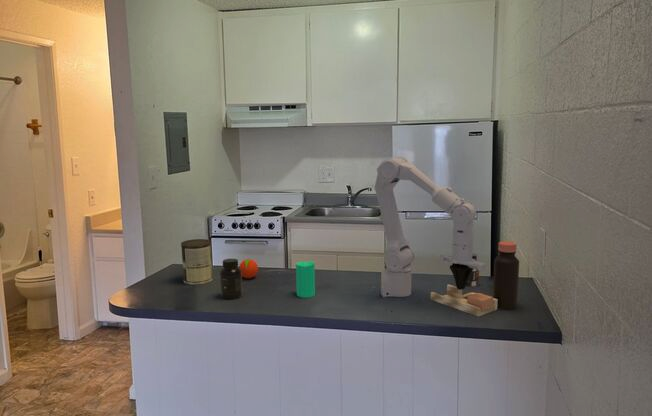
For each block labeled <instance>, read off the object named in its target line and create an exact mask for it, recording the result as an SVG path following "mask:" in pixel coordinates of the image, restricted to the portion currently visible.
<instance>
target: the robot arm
mask: <svg viewBox="0 0 652 416" xmlns="http://www.w3.org/2000/svg"><path fill="white" fill-rule="evenodd" d="M376 172H377V176H376V179H375V185H374V190H375V195H376V197H377V202H378V206H379V212H380V215H381V216H380V217H381V220H382V223H383V227H384V231H385V237H386V241H387V242H386V245H385V248H384V250H385V258H384V263H385V266H386V267H387V268H385V269H381V272H380V277H381V280H380V282H381V283H380V284H381V285H380V294H381V296H382V298H387V297H394V298H395V297H396V298H397V297H398V298H403V297H409V296H411V295H412V263H413V262H414V261H415V252H414V250H413V249H412V247H410V246H411V245H410V244H409V241H408V240H407V239H406V238H405V235H404V232H403V228H402V223H401V219H400V214H399V210H398V205H397V202H396V197H395V194H394V188H395V187H396V185H397V184H398V183H399V181H401V180H404V181H410V182H412V183H414V184H415V185H416V186H417V187H419V188H421V189H422V190H423V191H425V192H426V193H428V194H429V195H430V196H431V200H432V202H433V203H434V204H435V205H436V206H437V207H439V208H440V209H441V210H443V211H444V212H445V213H446V214H448V215H450V218H451V221H452V222H453V229H452V247H451V248H452V251H451V253H440V261H442V262H448V263H451V264H450V265H449V269H450V271H451V273H452V275H453V277H454V281H455V287H457V289H459V290H462V291H463V290H464V289H465V288H466V286H465V285H466V282H467V280H468V277H469V275H470V273H471V272H472V270H473V269H477V270H478V271H479V272H482V271H485V269H486V266H485V265H486V263H485V262H481V261H479V260H475V259H472V253H473V249H474V248H473V246H474V219H475V218H476V216H477V208H476V207H475V205H474V204H473V203H472V202H470V201H466V199H465V198H463V197H462V198H461V197H460V196H459V195H457V193H455V192H453V189H452V187H450V186H448V187H446V186H444V185H443V186H439V185H437V184H436V183H435V182H434V181H433V180H432V179H430V178H429V177H428V176H427V175H426V174H424V173H423V171H421V170H420V169H418V168H417V166H415V165H414V164H413V163H412V162H411V161H408V160H407V159H406V158H404V157H401V156H400V157H395V158H387V159H383V161H381V163H380V164H379V165H378V167H377V168H376Z"/></svg>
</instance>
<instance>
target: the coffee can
mask: <svg viewBox="0 0 652 416" xmlns="http://www.w3.org/2000/svg"><path fill="white" fill-rule="evenodd" d="M211 242H212V241H211V240H210V239H206V238H193V239H187V240H184V241H181V242H180V246H181V258H182V260H181V262H182V273H183V274H182V275H183V283H184V284H186V285H203V284H207V283H209V282H212V281H213V267H212V250H211V249H212V248H211Z"/></svg>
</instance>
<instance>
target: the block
mask: <svg viewBox="0 0 652 416" xmlns="http://www.w3.org/2000/svg"><path fill="white" fill-rule="evenodd" d="M475 293H476V292H475ZM466 298H467V304H470V305H473V306H476V307H479V308H481V310H482V309H485V308H487V307H490V306H493V296H491V295H487V294H483V293H481V292H477V293H476V294H473V295H470V296H467V297H466Z"/></svg>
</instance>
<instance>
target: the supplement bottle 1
mask: <svg viewBox="0 0 652 416" xmlns="http://www.w3.org/2000/svg"><path fill="white" fill-rule="evenodd" d="M219 279H220V281H219V282H220V296H221V298H222V299H225V300H236V299H240V298H241V297H242V296H243V276H242V271H241V269H240V268H239V259H238V258H225V259H223V260H222V268H221V269H220V272H219Z"/></svg>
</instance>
